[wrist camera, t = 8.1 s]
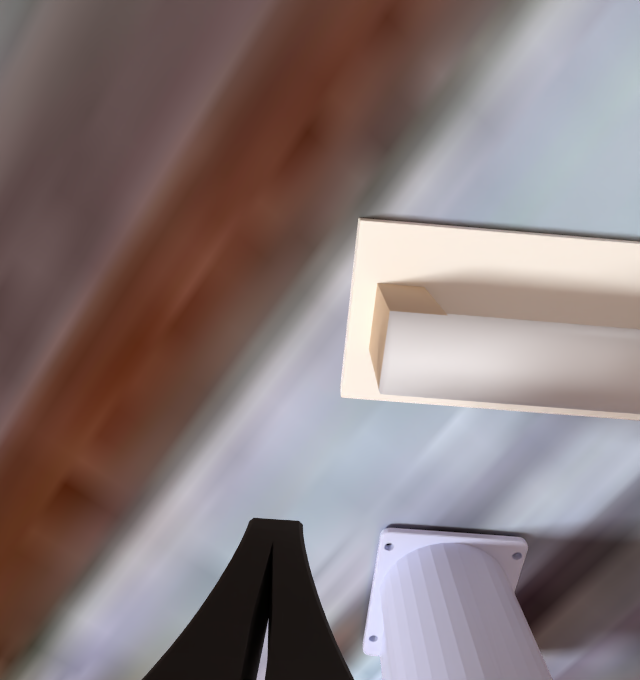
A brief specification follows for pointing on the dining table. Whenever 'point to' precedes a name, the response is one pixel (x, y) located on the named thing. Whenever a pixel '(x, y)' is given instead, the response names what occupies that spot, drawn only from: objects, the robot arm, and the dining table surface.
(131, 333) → the dining table surface
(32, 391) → the dining table surface
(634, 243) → the pipe stand
